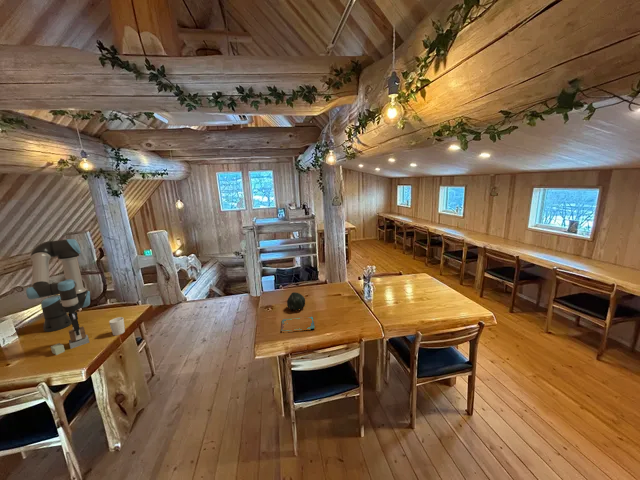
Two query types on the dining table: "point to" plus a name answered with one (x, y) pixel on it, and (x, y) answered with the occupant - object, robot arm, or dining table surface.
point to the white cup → (117, 325)
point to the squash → (296, 301)
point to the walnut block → (72, 334)
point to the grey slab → (79, 342)
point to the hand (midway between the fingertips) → (78, 337)
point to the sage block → (57, 349)
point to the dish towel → (299, 328)
